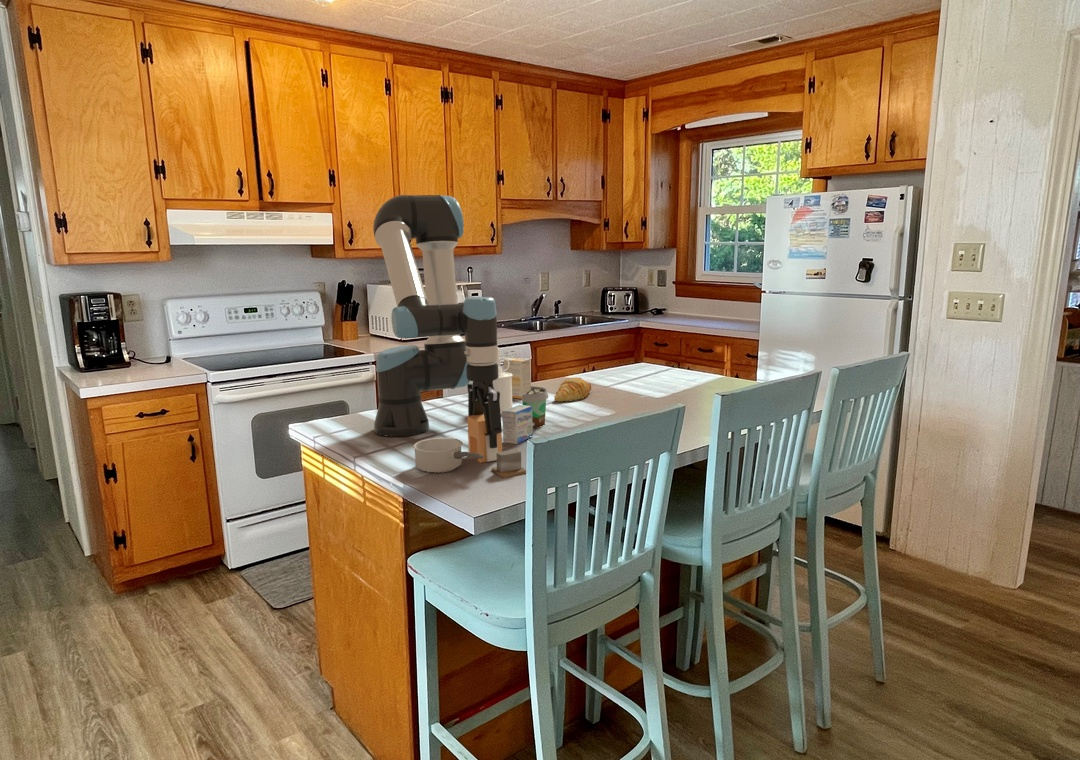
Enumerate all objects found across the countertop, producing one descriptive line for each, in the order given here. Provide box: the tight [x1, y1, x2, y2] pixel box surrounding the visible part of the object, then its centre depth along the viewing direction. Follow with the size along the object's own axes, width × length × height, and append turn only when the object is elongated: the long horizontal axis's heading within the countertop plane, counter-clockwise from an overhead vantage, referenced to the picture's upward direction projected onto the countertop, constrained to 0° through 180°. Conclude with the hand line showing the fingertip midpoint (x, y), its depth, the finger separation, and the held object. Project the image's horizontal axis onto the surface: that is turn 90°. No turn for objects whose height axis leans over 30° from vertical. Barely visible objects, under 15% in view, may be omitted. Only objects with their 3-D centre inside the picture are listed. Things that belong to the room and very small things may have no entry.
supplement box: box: [503, 357, 532, 400], centre depth 231 cm, size 8×5×13 cm, turn 49°
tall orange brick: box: [466, 414, 503, 463], centre depth 165 cm, size 6×6×10 cm
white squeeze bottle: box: [486, 347, 514, 415], centre depth 210 cm, size 10×9×20 cm
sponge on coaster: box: [491, 448, 527, 479], centre depth 154 cm, size 6×6×5 cm
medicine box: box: [501, 404, 534, 446], centre depth 179 cm, size 8×4×9 cm, turn 148°
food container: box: [521, 385, 549, 429], centre depth 194 cm, size 12×6×10 cm, turn 168°
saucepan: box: [412, 437, 484, 474], centre depth 156 cm, size 12×20×6 cm, turn 50°
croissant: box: [554, 377, 592, 403], centre depth 229 cm, size 21×10×8 cm, turn 146°
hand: (485, 456), depth 166 cm, fingers open, 7 cm apart
